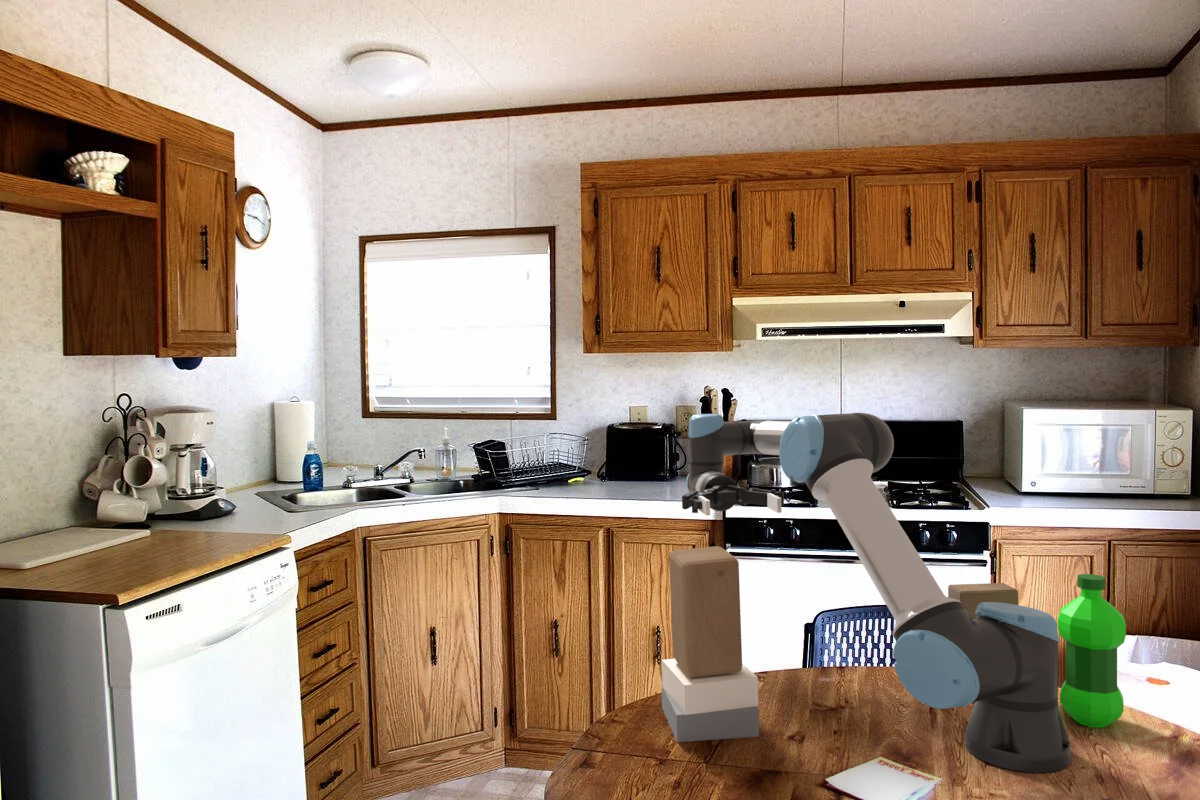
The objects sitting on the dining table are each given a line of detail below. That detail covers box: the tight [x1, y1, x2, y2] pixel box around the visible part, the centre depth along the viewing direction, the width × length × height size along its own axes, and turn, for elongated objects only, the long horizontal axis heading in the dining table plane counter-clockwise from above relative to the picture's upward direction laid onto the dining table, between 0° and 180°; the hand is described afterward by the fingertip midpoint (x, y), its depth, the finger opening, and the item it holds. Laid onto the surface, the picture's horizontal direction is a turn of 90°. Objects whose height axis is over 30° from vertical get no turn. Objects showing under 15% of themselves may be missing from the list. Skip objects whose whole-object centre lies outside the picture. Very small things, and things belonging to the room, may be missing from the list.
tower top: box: [661, 658, 759, 715], centre depth 151 cm, size 13×13×5 cm
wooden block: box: [668, 545, 743, 678], centre depth 150 cm, size 10×10×20 cm
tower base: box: [661, 686, 760, 743], centre depth 152 cm, size 14×14×5 cm
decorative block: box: [947, 582, 1019, 619], centre depth 162 cm, size 11×6×20 cm, turn 91°
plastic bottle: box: [1057, 573, 1127, 729], centre depth 148 cm, size 10×10×25 cm
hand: (743, 506), depth 161 cm, fingers open, 13 cm apart
